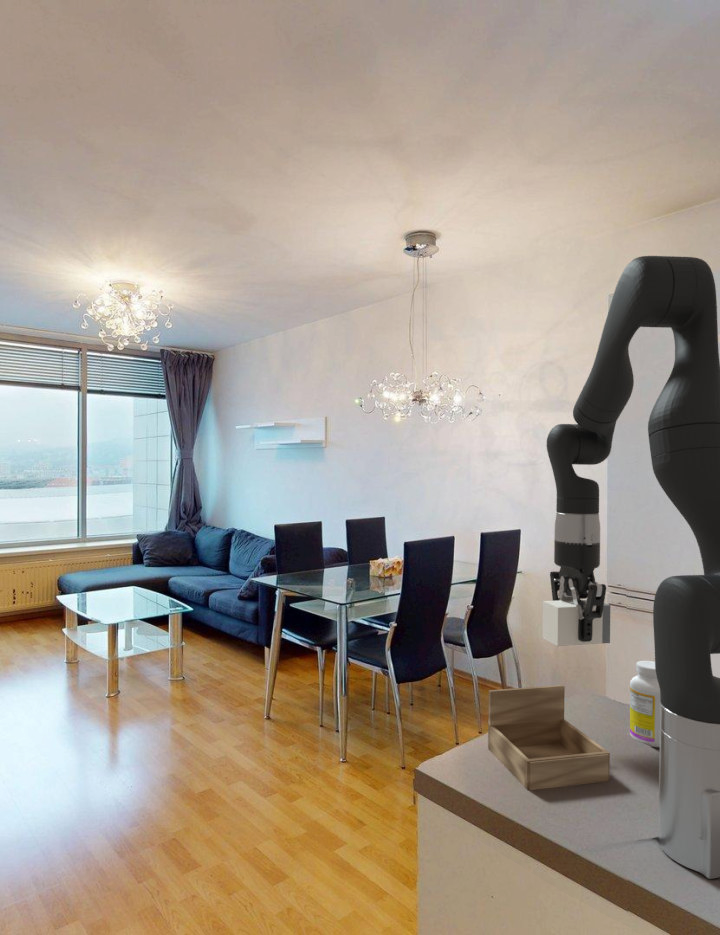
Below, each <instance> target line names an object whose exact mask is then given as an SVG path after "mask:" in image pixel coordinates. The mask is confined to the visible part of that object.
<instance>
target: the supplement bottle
mask: <svg viewBox="0 0 720 935" xmlns="http://www.w3.org/2000/svg"><path fill="white" fill-rule="evenodd" d="M635 666H636V667H635V670H636V672H637V675H635V676H633V677H632V678H631V679H630V681H629V734H630V737H632V738H633V739H634V740H636V741H638V742H641V743H643V744H645V745H648V746H649V747H651V748H660V688H659V683H658V680H657V676H656V669H655V660H654V661H652V660H640V661H639V660H638V661H637V662H636V665H635Z"/></svg>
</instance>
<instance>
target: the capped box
mask: <svg viewBox="0 0 720 935" xmlns="http://www.w3.org/2000/svg"><path fill="white" fill-rule="evenodd" d="M582 600H587V599H582ZM583 607H584V612H585V609H586V605H583ZM594 611H596V606H594ZM578 619H580V618H579V615H578V607H577V606H575V605H574V602H573V600H567V601H562V600H559V601H553V600H542V630H541V633H542V635H541V637H542V638H541V639H543V640H545V641H547V642H549V643H551V644H553V645H554V646H557V647H566V646H567V647H569V646H582V645H599V644H610V643H611V604H609V603H605V602H604V606H603V612H602V617H601V618H595V619H593V623H592V640H591V641H587V642H582V641H580V640H579V639H578Z"/></svg>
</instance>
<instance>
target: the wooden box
mask: <svg viewBox="0 0 720 935" xmlns="http://www.w3.org/2000/svg"><path fill="white" fill-rule="evenodd" d="M565 688H566V687H565V685H564V684H557V685H556V684H555V685H544V686H543V685H541V686H528V687H527V686H526V687H515V688H513V687H512V688H502V689H501V688H500V689H489V690H488V722H487V723H488V730H487V731H488V734H487V735H488V737H487V738H488V740H487V743H488V744H487V749H488V751H490V752H491V753H492V755H494V757H495V758H496V759H497V760H498V761H499V762H500V763H501V765H503V766H504V767H505V768H506V770H508V772H509V773H510V774H512V776H513V777H514V778H515V779H516V780H517V781H518V782H519V783H520V784H521V785H522V786H523V787H524V788H525V789H526V790H529V791H534V790H543V789H552V788H553V789H554V788H559V787H560V788H562V787H570V786H576V785H577V786H578V785H585V784H587V785H588V784H595V783H604V782H609V781H610V770H611V769H610V765H611V764H610V763H611V762H610V758H611V755H610V754H611V753H610V752H609V751H608V750H606V749H605V748H604V747H603V746H601V745H600V744H598V743H597V742H596V741H594V740H593V739H592V738H590V737H589V736H587V735H586V734H585V733H583V731H581V730H579V728H577V727H576V726H574V725H573V724H571V723H570V722H568V721H567V720H566V719H565V695H566V694H565Z"/></svg>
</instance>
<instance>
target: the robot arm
mask: <svg viewBox="0 0 720 935" xmlns="http://www.w3.org/2000/svg"><path fill="white" fill-rule="evenodd" d="M714 277H715V276H714V274H713V272H712V269H711V267H710V265H709V264H708V262H707V261H705V260H703V259H702V258H698V257H694V256H674V255H673V256H672V255H670V256H669V255H668V256H667V255H643V256H638V257H636V258H633V259H632V260H630V262H629V263H628V264H627V265H626V267H624V269H623V271H622V273H621V275H620V277H619V278H618V281H617V284H616V287H615V289H614V292H613V296H612V299H611V302H610V306H609V310H608V312H607V316H606V319H605V321H604V326H603V330H602V333H601V335H600V339H599V340H600V341H599V343H598V348H597V352H596V355H595V358H594V361H593V365H592V368H591V370H590V373H589V375H588V377H587V378H586V381H585V383H584V385H583V386H582V390H581V391H580V392H579V395H578V398H577V399H576V401H575V403H574V407H573V410H572V417H573V419H574V422H575V423H574V424H573V423H560V424H557V425H554V426H553V427H552V428H551V429H550V431H549V433H548V434H547V438H546V451H547V456H548V460H549V462H550V465H551V470H552V473H553V478H554V482H555V483H554V484H555V488H556V489H555V490H556V506H555V508H556V513H555V522H554V538H553V539H554V548H553V549H554V551H553V552H554V553H553V557H554V558H553V560H554V561H553V562H554V564H555V565H556V566H557V567H560V569H559V570H558V571H556V570H555V571H550V572H549V578H550V585H551V586H550V587H551V597H552V601H559V600H562V601H567V600H573V602H574V605H575V606H577V607H578V615H579V618H580V619H578V639H579V640H580V641H582V642H587V641H591V640H592V623H593V619H595V618H601V617H602V612H603V606H604V603H605V599H606V594H607V593H606V592H607V586H606V584H605V583H598V582H597V581H596V578H595V574H594V573H595V572H594V571H595V569H598V568H599V567H600V565H601V522H600V514H599V513H600V485H599V483H598V482H597V481H596V480H594V479H590V478H586V477H581V476H579V475H578V474H577V473H576V472H575V469H574V466H573V465H577V466H579V465H585V466H586V465H587V466H591V465H593V466H594V465H599V464H601V463H602V462H604V461H606V460H607V459H608V457H609V456H610V455H611V452H612V445H613V444H612V443H613V439H614V438H613V437H614V433H615V430H616V424H617V421H618V419H619V418H620V415H622V413H623V411H624V409H625V407H626V406H627V404H628V402H629V400H630V398H631V396H632V393H633V389H634V383H635V382H634V372H633V367H632V362H631V359H630V355H629V354H630V352H629V346H630V343H631V340H632V339H633V337H634V335H635V334H636V332H637V331H638V330H639V329H640V328H668V329H669V328H671V331H672V333H673V334H672V335H673V341H674V361H673V362H674V364H673V367H672V370H671V372H670V374H669V377H668V379H667V381H666V383H665V385H664V387H663V388H662V390H661V391H660V394H659V396H658V398H657V399H656V401H655V402H654V403H655V404H654V405H653V407H652V410H651V412H650V415H649V417H648V418H649V419H648V422H647V434H648V444H649V450H650V459H651V466H652V470H653V474H654V476H655V478H656V480H657V482H658V484H659V486H660V487H661V489H662V490H663V492H664V493H665V495H666V496H667V497H668V499H669V500H670V502H671V503H672V504H673V506H674V507H675V508H676V510H677V511H678V512H679V513H680V515H681V516H682V517H683V519H684V520H685V521H686V523H687V524H688V526H689V527H690V529H691V531H692V534H693V535H694V538H695V540H696V543H697V545H698V548H699V554H700V558H701V562H702V568H703V569H702V570H703V574H692V575H691V574H686V575H683V574H681V575H672V576H668V577H667V578H665V579H664V580H662V581H661V582H660V584H659V585H658V587H657V589H656V592H655V595H654V599H653V607H652V608H653V609H652V613H653V614H652V616H653V618H652V619H653V620H652V621H653V624H652V625H653V637H654V638H653V640H654V642H653V643H654V662H655V669H656V676H657V680H658V683H659V688H660V747H659V765H658V766H659V768H658V769H659V770H658V771H659V772H658V773H659V774H658V776H659V777H658V845H659V847H660V848H661V849H662V851H663V852H664V853H665V854H666V855H667V856H668V857H669V858H670V859H672V860H673V861H675V862H676V863H678V864H680V865H682V866H684V867H686V868H688V869H689V870H693V871H696V872H698V873H700V874H702V875H703V876H705V878H707V879H709V880H711V879H716V878H717V879H719V878H720V677H717V676H714V675H713V668H712V661H711V660H712V657H711V655H716V654H717V655H718V654H720V353H719V333H718V331H719V330H718V329H719V328H718V327H719V325H718V303H717V300H718V299H717V290H716V288H717V287H716V281H715V278H714ZM583 599H587V600H583ZM583 605H586V609H585V612H584V607H583ZM594 606H596V611H594Z"/></svg>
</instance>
